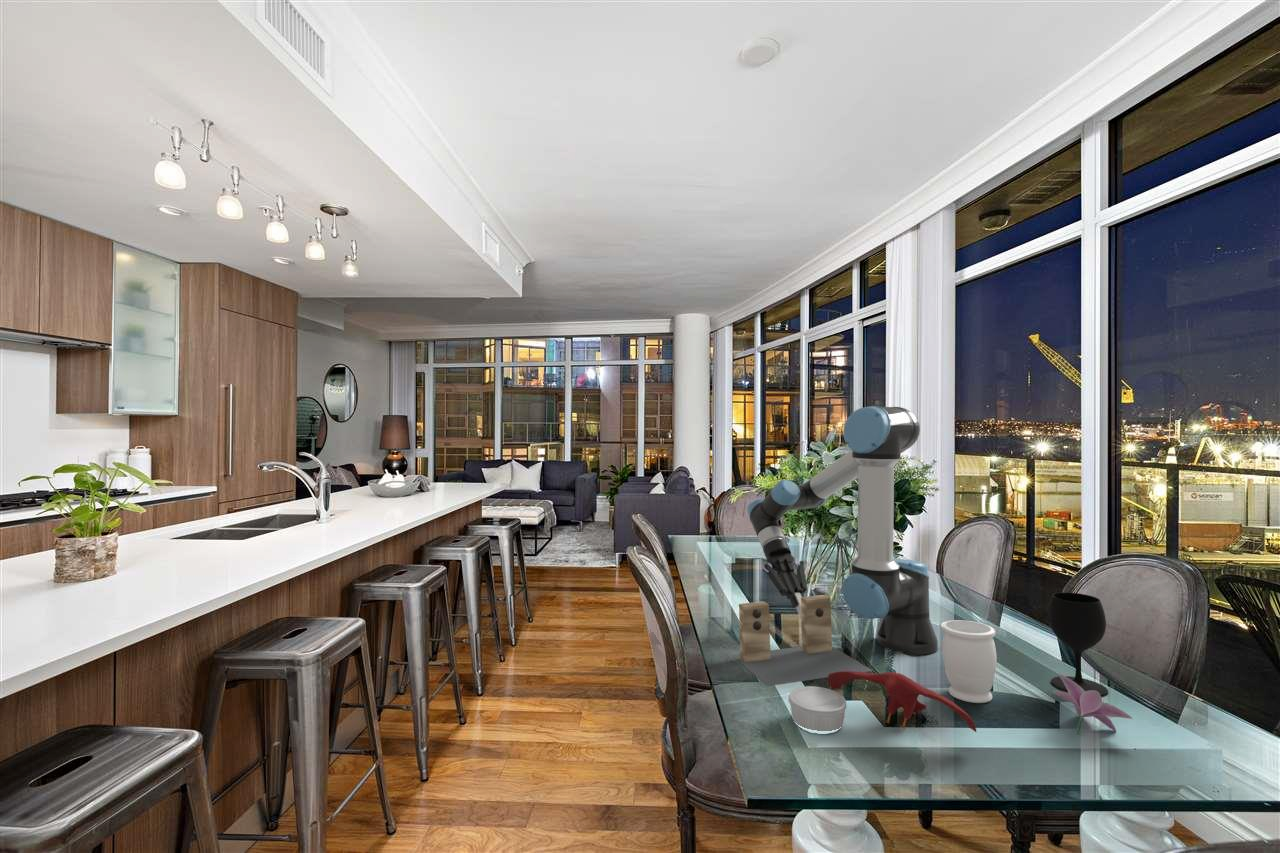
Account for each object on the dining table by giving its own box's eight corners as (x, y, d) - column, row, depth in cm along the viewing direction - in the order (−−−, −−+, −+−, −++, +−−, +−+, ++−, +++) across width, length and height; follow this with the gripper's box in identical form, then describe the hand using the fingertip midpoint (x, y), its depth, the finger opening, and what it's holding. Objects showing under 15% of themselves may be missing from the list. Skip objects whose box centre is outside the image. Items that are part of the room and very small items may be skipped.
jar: (977, 710, 123) (975, 637, 123) (933, 692, 132) (930, 624, 132) (1008, 699, 127) (1006, 629, 128) (963, 682, 137) (961, 616, 137)
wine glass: (1097, 680, 136) (1094, 593, 136) (1117, 699, 126) (1113, 605, 126) (1044, 675, 139) (1041, 590, 139) (1059, 694, 129) (1056, 602, 130)
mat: (826, 645, 162) (826, 643, 162) (873, 673, 143) (873, 670, 143) (732, 657, 155) (732, 655, 155) (767, 688, 136) (767, 685, 136)
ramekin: (839, 743, 111) (838, 715, 111) (781, 729, 117) (780, 702, 117) (852, 719, 120) (852, 693, 121) (798, 707, 126) (797, 682, 126)
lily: (1139, 756, 106) (1145, 701, 109) (1074, 729, 107) (1082, 675, 110) (1089, 744, 118) (1095, 695, 121) (1031, 719, 119) (1038, 671, 122)
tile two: (740, 658, 153) (738, 603, 153) (765, 655, 154) (763, 601, 155) (745, 663, 149) (744, 607, 150) (771, 659, 151) (769, 604, 151)
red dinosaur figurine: (838, 720, 129) (813, 683, 122) (851, 681, 134) (828, 644, 127) (983, 769, 109) (963, 729, 102) (992, 721, 114) (974, 680, 107)
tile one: (802, 650, 157) (801, 597, 158) (825, 647, 159) (824, 594, 159) (809, 654, 154) (807, 600, 154) (832, 651, 156) (831, 598, 156)
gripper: (789, 550, 183) (820, 620, 167) (750, 553, 180) (778, 625, 163) (797, 536, 178) (831, 606, 162) (758, 539, 175) (787, 611, 158)
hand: (804, 616), depth 162 cm, fingers closed
